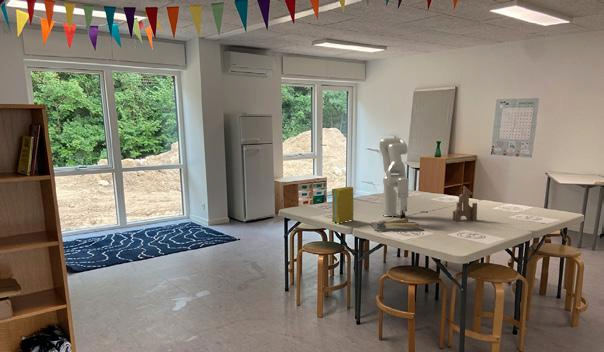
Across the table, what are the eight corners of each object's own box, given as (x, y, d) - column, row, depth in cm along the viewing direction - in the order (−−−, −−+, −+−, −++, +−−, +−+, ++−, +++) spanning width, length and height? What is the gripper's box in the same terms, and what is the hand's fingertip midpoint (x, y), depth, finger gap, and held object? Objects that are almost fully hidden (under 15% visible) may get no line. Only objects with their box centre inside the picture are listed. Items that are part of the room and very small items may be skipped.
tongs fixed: (376, 227, 276) (376, 222, 276) (416, 226, 276) (416, 221, 276) (378, 229, 271) (378, 224, 270) (419, 228, 271) (419, 223, 270)
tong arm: (374, 227, 276) (374, 222, 276) (405, 222, 289) (405, 217, 288) (379, 229, 271) (379, 223, 271) (411, 223, 284) (411, 218, 283)
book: (338, 224, 292) (337, 189, 289) (332, 222, 297) (331, 188, 294) (355, 220, 302) (355, 187, 299) (349, 219, 307) (349, 186, 304)
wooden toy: (456, 221, 293) (456, 187, 290) (452, 219, 300) (453, 185, 297) (477, 221, 293) (478, 186, 290) (473, 219, 300) (474, 185, 297)
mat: (370, 223, 291) (370, 222, 291) (414, 223, 291) (414, 221, 291) (375, 231, 269) (375, 230, 269) (423, 230, 269) (423, 229, 269)
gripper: (395, 193, 295) (395, 218, 297) (400, 196, 280) (399, 223, 283) (405, 193, 295) (405, 218, 297) (410, 196, 280) (410, 222, 283)
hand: (402, 220), depth 290 cm, fingers closed
